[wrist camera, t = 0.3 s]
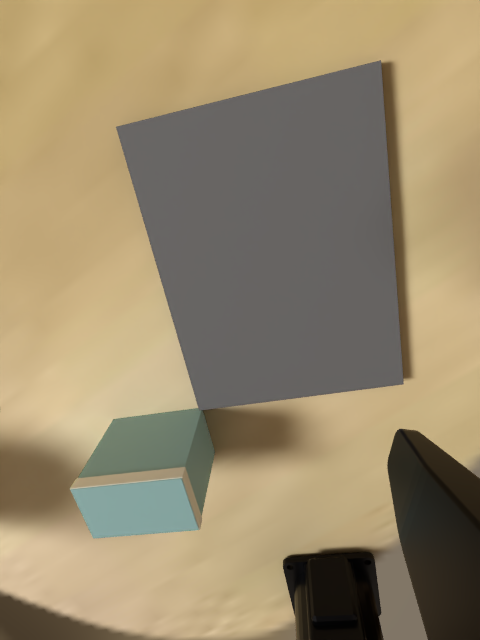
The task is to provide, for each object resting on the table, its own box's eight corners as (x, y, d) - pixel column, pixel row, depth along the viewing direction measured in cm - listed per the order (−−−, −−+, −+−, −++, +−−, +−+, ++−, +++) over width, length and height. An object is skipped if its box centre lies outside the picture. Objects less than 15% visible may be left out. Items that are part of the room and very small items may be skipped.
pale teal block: (215, 452, 27) (199, 530, 21) (129, 461, 28) (92, 539, 22) (202, 406, 25) (181, 477, 20) (112, 418, 26) (69, 489, 21)
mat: (400, 378, 23) (403, 384, 23) (201, 404, 25) (199, 410, 25) (377, 63, 18) (380, 60, 17) (120, 127, 19) (116, 126, 19)
